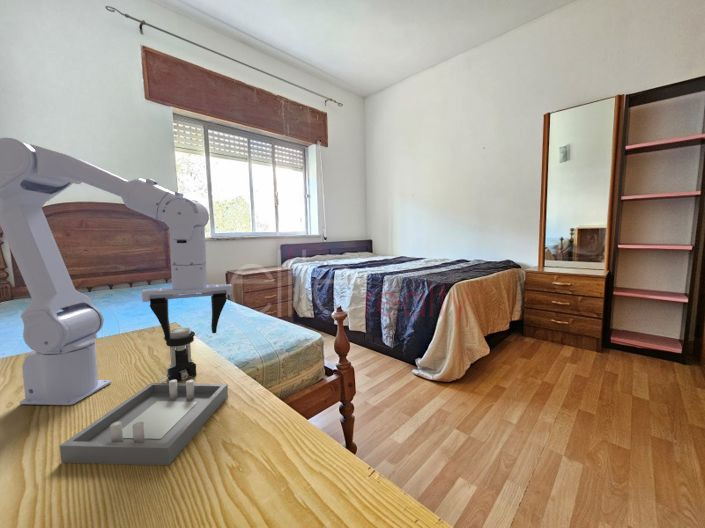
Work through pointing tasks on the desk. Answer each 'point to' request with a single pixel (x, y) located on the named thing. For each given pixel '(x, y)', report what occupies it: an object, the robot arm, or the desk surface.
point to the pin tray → (147, 425)
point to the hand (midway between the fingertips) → (191, 334)
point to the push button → (180, 355)
